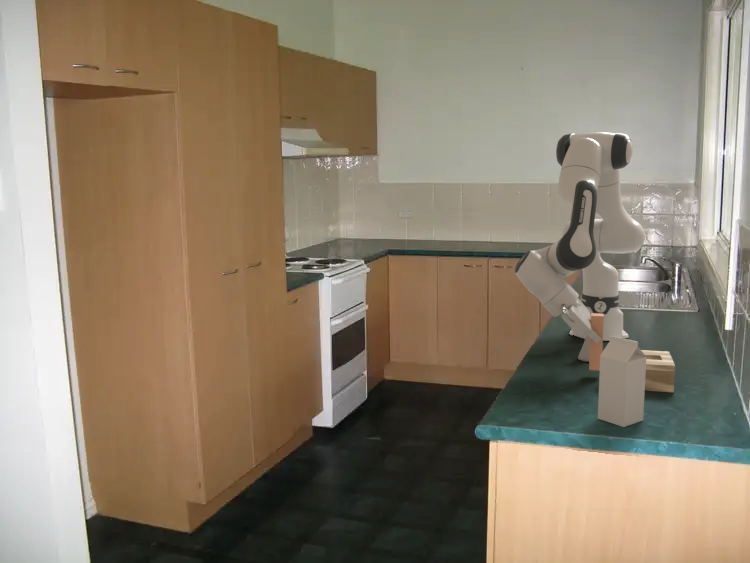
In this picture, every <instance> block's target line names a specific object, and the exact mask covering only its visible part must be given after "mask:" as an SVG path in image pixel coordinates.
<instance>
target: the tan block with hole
mask: <svg viewBox="0 0 750 563" xmlns="http://www.w3.org/2000/svg"><path fill="white" fill-rule="evenodd" d="M640 350H641V351H642V352H643V353H644V355H645V356H646V375H645V391H646V392H647V391H648V392H663V393H665V392H666V393H674V391H675V376H676V374H675V373H676V365H675V362H674V360H673V357H672V355H671V353H670V351H666V350H664V351H662V350H648V349H647V350H645V349H640Z"/></svg>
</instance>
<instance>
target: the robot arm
mask: <svg viewBox="0 0 750 563" xmlns="http://www.w3.org/2000/svg"><path fill="white" fill-rule="evenodd" d="M633 148H634V146H633V144H632V140H631V138H630V137H629V136H628V135H627V134H625V133H622V132H621V133H620V132H616V133H613V132H604V131H594V132H584V133H583V132H582V133H572V132H571V133H568V134H564V135H562V136H561V137H560V139H559V140H558V142H557V144H556V148H555V156H556V161H557V163H558V165H560V166H561V168H560V172H559V173H560V174H559V175H558V176H559V177H558V184H557V188H558V189H557V191H558V194H559V196H560V197H561V198H562V199H563V201H564V202H565V201H566V202H567V203H569V204H571V209H570V217H569V221H568V222H567V223H566V224H565V225H564V226H563V229H562V233H561V237H560V239H558V240H557V241H555V242H554V243H552V244H551V245H548V246H546V247H542V248H539V249H533V250H532V249H531V250H528V251H526V252H525V253H524V254H523V255H522V257H520V259H519V260H518V261H517V263H516V265H515V268H514V273H515V275H516V277H517V279H518V280H519V281H520V282H521V284H522V285H523V286H524V287H525V288H526V290H528V291H529V293H530V294H532V295H533V296H535V297H536V298H537V299H538V300H539V301H540V303H541V305H542V306H543V307H544V308H545V309H546V310H547V311H548V312H549V313H550V314H551V315H552V316H553V317H554V318H557V317H559V316H560V317H561V319H562V320H563V321H564V322H565V323H566V325H567V326H568V327H569V328H570V329H571V330H570V331H569V334H570V336H573V335H574V337H578V338H581V339H584V340H585V339H586V335H587V336H588V337H590V338H591V339H592V340H593V341H594V342H595V343H598V342H599V341H600V340H601V337H600V336H599V335H598V334H597V333H596V332H595V331H594V330H593V329H592V328H591V313H599V314H604V325H603V342H604V341H605V342H607V341H609V342H610V336H614V337H619V338H623V339H628V338H629V334H628V333H627V332H626V331H625V330H624V312H622V310H621V309H620V308H619V306H620V295H619V277H620V276H619V275H620V274H619V272H618V270H617V269H616V267H615V266H613V265H611V264H610V263H608V262H606V261H604V259H603V258H602V257H601V254H630V253H636V252H638V251H639V250H640V249H641V248H642V247H643V245H644V243H645V238H646V235H645V234H646V233H645V230H644V228H643V226H642V225H641V224H640V222H638V221H637V220H635V219H634V218H633V217H631V215H630V214H629V213H628V212H627V211H626V209H625V206H624V205H623V201H622V194H621V174H620V172H621V171H620V169H623V168H625V167H627V166H628V165H629V164H630V162H631V158H632V157H633V152H634V151H633ZM596 214H597V215H598V216H599V217H600V218H596ZM580 270H582V285H583V287H582V288H583V289H582V293H581V297H580V294H579V293H578V292H577V291H576V290H575V289H574V288H573V287H572V286H571V285H570V284H569V283H568V282H567V280H566V278H567V277H569V276H571V275H572V274H574V273H576V272H578V271H580ZM579 297H580V299H579Z"/></svg>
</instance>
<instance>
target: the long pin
mask: <svg viewBox="0 0 750 563" xmlns="http://www.w3.org/2000/svg"><path fill="white" fill-rule="evenodd" d="M603 325H604V314H599V313H591V328H592V329H593V330H594V331H595V332H596V333H597V334H598V335H599V336H600V337H601V340H600V341H599V342H598V343H595V342H594V341H593V340H592V339H591V338H590V358H589V362H588V363H589V364H588V367H589V368H588V370H589V371H598V372H600V355H601V354H602V352H603V350H604V349H603V347H604V346H603V345H604V341H603Z"/></svg>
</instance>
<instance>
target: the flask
mask: <svg viewBox="0 0 750 563" xmlns="http://www.w3.org/2000/svg"><path fill="white" fill-rule="evenodd" d="M589 358H590V337H588V336H587V335H586V339H584V342H583V344H582V347H581V349H580V352H579V354H578V357H577V359H578V360H580V361H583V362H588V363H589Z"/></svg>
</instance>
